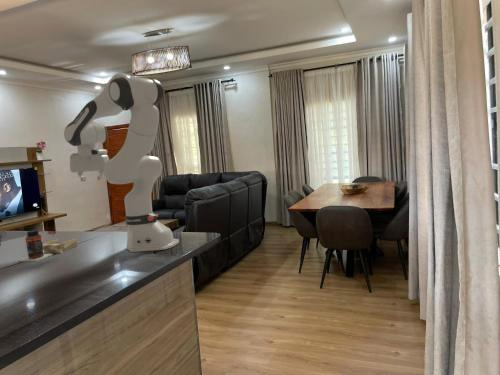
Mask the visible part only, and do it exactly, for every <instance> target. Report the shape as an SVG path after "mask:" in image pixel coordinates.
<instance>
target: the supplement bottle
mask: <svg viewBox="0 0 500 375" xmlns="http://www.w3.org/2000/svg"><path fill="white" fill-rule="evenodd" d="M26 234H27V235H26V237H25V243H26V244H25V245H26V251H27V257H29V258H31V259H32V258H39V257H42V256H43V255H44V254H45V253H44V250H43V243H44V242H43V238H42V235H41V234H39V230H38V229H33V230H32V229H31V230H27V232H26Z"/></svg>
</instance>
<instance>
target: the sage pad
mask: <svg viewBox="0 0 500 375" xmlns="http://www.w3.org/2000/svg"><path fill="white" fill-rule="evenodd" d="M53 255H54V253H44V255H43V256H42V257H39V258H32V259H31V258H29V257H28V256H26V257H24V258H21V259H19V260H18V262H39V261H41V260H44V259H47V258H48V256H49V257H50V256H53Z"/></svg>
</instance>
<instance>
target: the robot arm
mask: <svg viewBox="0 0 500 375" xmlns="http://www.w3.org/2000/svg"><path fill="white" fill-rule="evenodd" d="M163 98H164V87H163V85H162V83H161V82H160V81H159V80H157V79H154V78H150V77H148V78H145V77H139V76H131V75H128V74H126V73H124V72H118V73H115V74H114V75H112V77H110V79H109V80H108V81H107V83H106V84H105V86H104V88H103V89H102V91H101V92H100V93H99V94H98V95H97V96H96V97H95V98H93V99H92V100H89V102H87V103H86V104H85V105H84V106H83V107H82V109H81V110H80V111H79V113H78V114H77V115H76V117H75V118H74V119H73V120H71V122H69V123H68V125H67V124H66V125H67V126H65V128H64V131H63V132H64V133H63V135H64V136H63V137H64V139H65V141H66V142H67V143H69V145H71V146H73V147H76V149H77V152H76V153H75V152H73V153H72V154H71V155H70V156H69V169H70V170H69V171H70V172H71V173H77V175H78V177H79V178H80V182H86V178H87V177H86V176H85V177H84V175H83V174H84V173H85V172H98V176H97V177H96V178H97V180H98V181H102V180H103V175H104V178H105V180H106V181H107V182H108V183H109V184H114V185H125V184H132V183H133V187H132V189H131V190H130V191H129V192H128V193H127V194H126V195H125V196H124V202H123V203H124V208H125V216H124V217H125V224H126V228H127V229H126V230H127V236H126V237H127V241H126V250H128V251H129V252H130V253H135V252H136V253H137V252H150V251H161V250H162V251H163V250H167V249H168V250H169V249H171V248H172V247H173V248H174V247H175V246H176V245H178V244H179V243H180V239H179V238H174V234H173V231H172V230H171V228H170V227H168V226H166V225H164V224H163V223H161V222H160V221H159V220H158V217H159V213H157V214H156V213H155V212H153V206H152V204H153V203H152V194H153V193H152V192H153V187H154V185H155V182H156V181H157V179H158V178H159V177H160V176H161V175H162V172H163V164H162V161H161V159H159V157H158V156H154V155H148V154H150V153H151V152H152V151H153V149H154V147H155V142H156V138H157V132H158V130H159V129H158V128H159V122H160V111H159V108H158V107H157V106H156V105H157V104H160V102H162V100H163ZM128 110H129V111H130V120H129V124H128V128H127V133H126V137H125V141H124V144H123V145H122V147H121V148H120V150H118V152H117V153H116V155H114V156H113V157H112V158H109V155H108V150H107V149H104V148H100V147H98V145H100V144H104V143H105V142H106V141H107V140H108V137H109V133H108V132H109V131H108V129H107V127H106V125H104V124H103V123H102V122H101V123H100V122H96V121H95V120H97V119H100V118H105V117H106V118H107V117H112V116H113V117H114V116H117V115H119V114H121V113H122V112H123V111H125V112H126V111H128Z"/></svg>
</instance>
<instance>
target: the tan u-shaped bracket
mask: <svg viewBox="0 0 500 375" xmlns="http://www.w3.org/2000/svg"><path fill="white" fill-rule="evenodd" d="M42 243H43V250H44V254H61V253H65V252H66V251H69V250H71V249H73V248H74V249H75V248H77V247H78V243H77V239H76V238H70V239H68V240H66V241H62V242H60V243H59V240H58V239H51V240H49V241H46V242H45V241H44V242H42Z"/></svg>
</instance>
